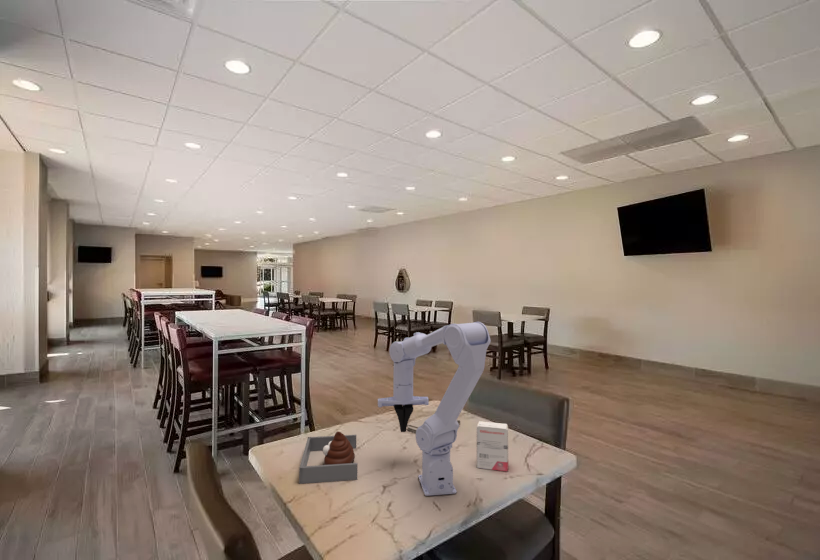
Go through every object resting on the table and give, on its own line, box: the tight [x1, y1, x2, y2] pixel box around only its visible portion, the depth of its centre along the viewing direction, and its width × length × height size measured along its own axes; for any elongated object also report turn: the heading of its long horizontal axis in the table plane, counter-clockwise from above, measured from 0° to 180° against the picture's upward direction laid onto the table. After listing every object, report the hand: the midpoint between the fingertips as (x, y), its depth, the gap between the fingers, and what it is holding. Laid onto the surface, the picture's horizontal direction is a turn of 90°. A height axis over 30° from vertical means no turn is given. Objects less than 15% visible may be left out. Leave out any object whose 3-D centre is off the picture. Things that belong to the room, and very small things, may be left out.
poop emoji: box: [322, 431, 356, 465], centre depth 108 cm, size 10×8×9 cm
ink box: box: [476, 420, 509, 472], centre depth 107 cm, size 9×5×12 cm, turn 74°
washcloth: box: [406, 414, 461, 435], centre depth 136 cm, size 12×18×3 cm, turn 139°
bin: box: [298, 434, 359, 485], centre depth 108 cm, size 20×15×4 cm
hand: (403, 430), depth 108 cm, fingers closed
